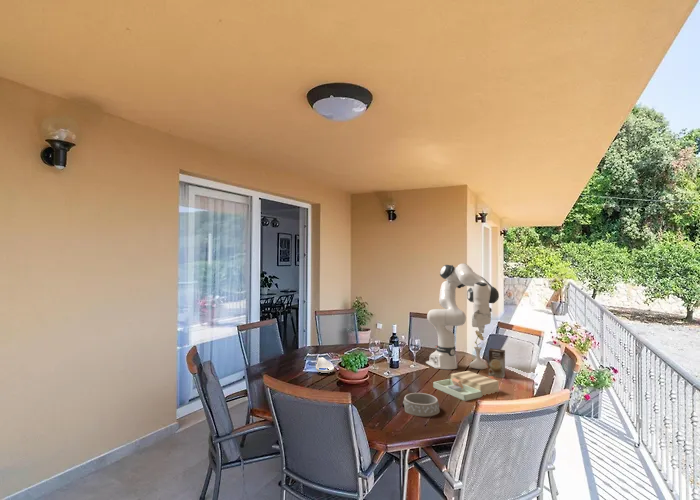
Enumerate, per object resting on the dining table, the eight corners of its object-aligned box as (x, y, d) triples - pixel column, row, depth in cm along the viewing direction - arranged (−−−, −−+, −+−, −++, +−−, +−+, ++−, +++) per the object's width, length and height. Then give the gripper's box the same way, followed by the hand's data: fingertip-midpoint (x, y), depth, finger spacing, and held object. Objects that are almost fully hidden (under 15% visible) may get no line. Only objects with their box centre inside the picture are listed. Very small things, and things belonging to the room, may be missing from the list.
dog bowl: (433, 402, 191) (433, 391, 191) (443, 416, 173) (443, 405, 173) (400, 402, 190) (400, 391, 191) (407, 417, 172) (407, 405, 172)
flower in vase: (488, 371, 245) (488, 332, 246) (470, 370, 247) (470, 332, 248) (485, 365, 258) (485, 329, 259) (468, 364, 260) (467, 328, 261)
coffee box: (488, 375, 235) (488, 350, 235) (490, 373, 240) (489, 348, 241) (503, 378, 230) (503, 351, 231) (505, 375, 236) (505, 349, 236)
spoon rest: (336, 374, 237) (336, 363, 237) (318, 376, 233) (318, 364, 233) (326, 365, 259) (326, 354, 259) (309, 366, 255) (310, 355, 255)
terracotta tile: (457, 385, 212) (454, 387, 212) (454, 377, 211) (451, 379, 211) (463, 387, 208) (461, 389, 207) (460, 380, 207) (457, 382, 206)
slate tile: (455, 384, 210) (455, 388, 210) (448, 386, 208) (448, 389, 207) (461, 387, 205) (461, 391, 205) (454, 388, 203) (454, 392, 203)
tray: (433, 387, 213) (433, 381, 213) (449, 383, 219) (449, 378, 219) (464, 401, 192) (464, 395, 192) (481, 396, 198) (481, 391, 198)
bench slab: (450, 384, 218) (450, 374, 218) (468, 380, 225) (468, 370, 225) (480, 396, 199) (480, 384, 199) (498, 392, 205) (498, 380, 206)
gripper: (479, 311, 213) (479, 336, 213) (492, 308, 229) (493, 331, 228) (469, 310, 218) (469, 334, 217) (482, 307, 233) (482, 330, 232)
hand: (481, 333), depth 223 cm, fingers closed
